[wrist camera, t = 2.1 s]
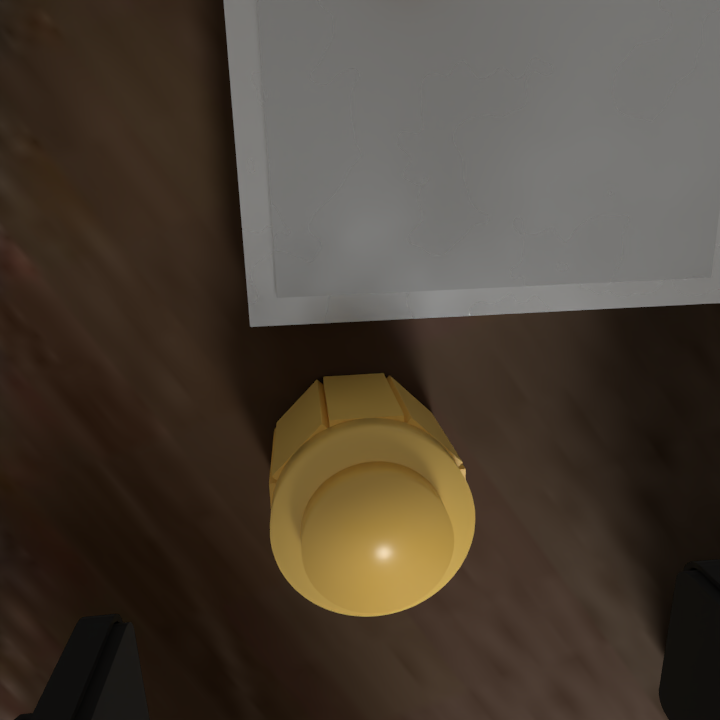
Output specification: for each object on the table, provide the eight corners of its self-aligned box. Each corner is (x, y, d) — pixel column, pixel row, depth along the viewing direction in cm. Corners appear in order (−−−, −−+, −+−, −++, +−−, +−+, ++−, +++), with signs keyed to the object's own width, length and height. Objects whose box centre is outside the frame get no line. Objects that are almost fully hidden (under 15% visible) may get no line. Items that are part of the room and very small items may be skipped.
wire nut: (433, 514, 21) (482, 629, 16) (281, 527, 21) (275, 649, 15) (433, 370, 20) (488, 438, 14) (270, 379, 19) (260, 454, 14)
